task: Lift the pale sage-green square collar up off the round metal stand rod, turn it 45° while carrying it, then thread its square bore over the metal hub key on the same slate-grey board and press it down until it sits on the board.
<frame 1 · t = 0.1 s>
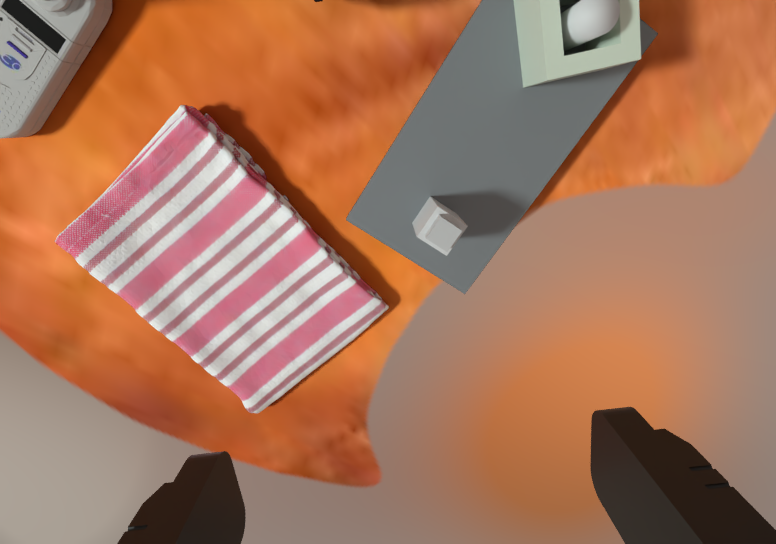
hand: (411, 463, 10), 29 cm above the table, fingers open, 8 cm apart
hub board: (488, 131, 36), on the table
dish towel: (235, 270, 40), on the table
collar: (559, 34, 32), point 1 cm above the table, touching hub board
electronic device: (48, 51, 34), on the table
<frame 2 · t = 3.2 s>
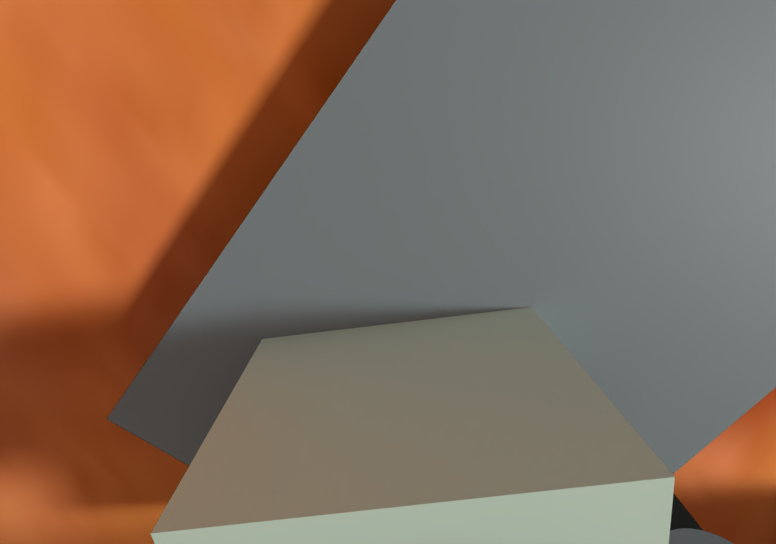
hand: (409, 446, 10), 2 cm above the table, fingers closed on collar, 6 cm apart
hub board: (622, 163, 10), on the table
collar: (410, 435, 11), point 2 cm above the table, touching gripper, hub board
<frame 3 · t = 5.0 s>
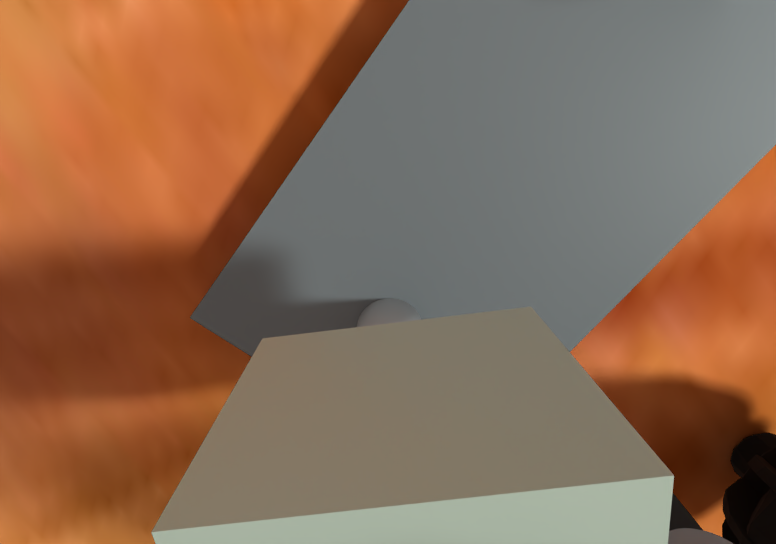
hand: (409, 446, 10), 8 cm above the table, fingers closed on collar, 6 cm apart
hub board: (526, 147, 16), on the table
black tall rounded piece: (761, 468, 21), on the table
collar: (410, 435, 11), point 7 cm above the table, touching gripper
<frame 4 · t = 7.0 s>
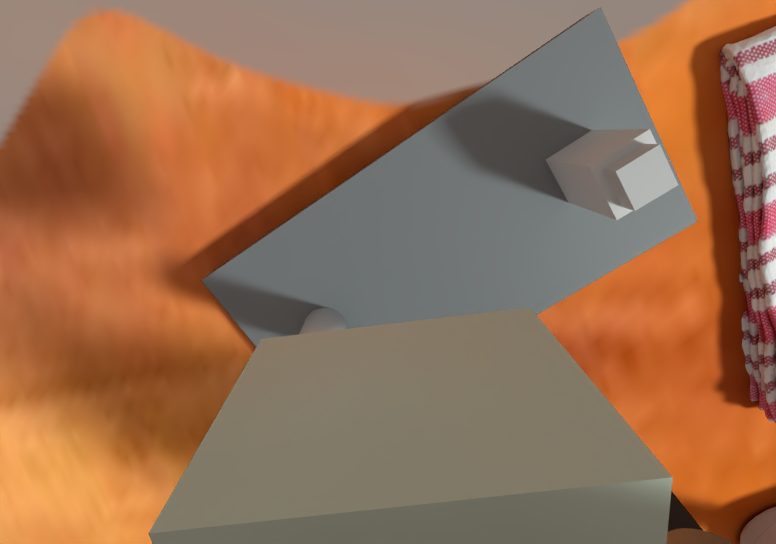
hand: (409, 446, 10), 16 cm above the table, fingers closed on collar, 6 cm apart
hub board: (442, 244, 25), on the table
collar: (408, 435, 11), point 15 cm above the table, touching gripper
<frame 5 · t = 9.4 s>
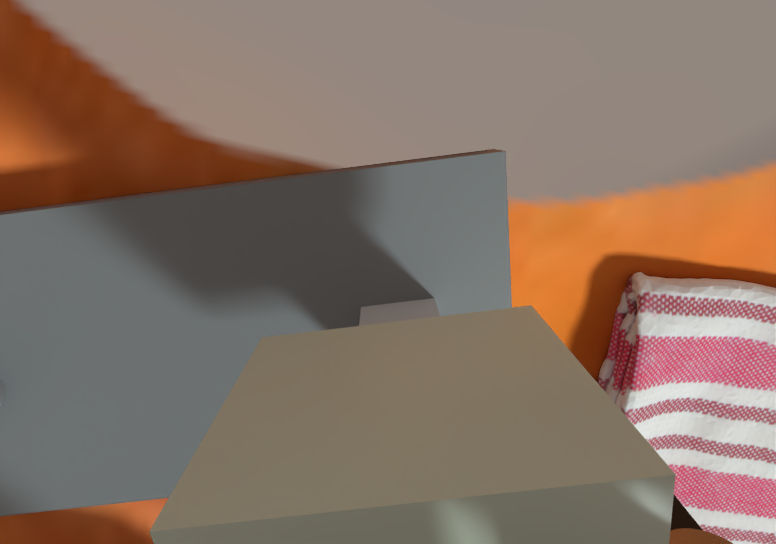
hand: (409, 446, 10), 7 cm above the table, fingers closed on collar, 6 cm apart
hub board: (200, 342, 18), on the table
dish towel: (712, 508, 22), on the table
collar: (410, 434, 11), point 7 cm above the table, touching gripper
when the fingers open (2 cm above the table, at t = 11.0 s): collar stays where it is, resting on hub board.
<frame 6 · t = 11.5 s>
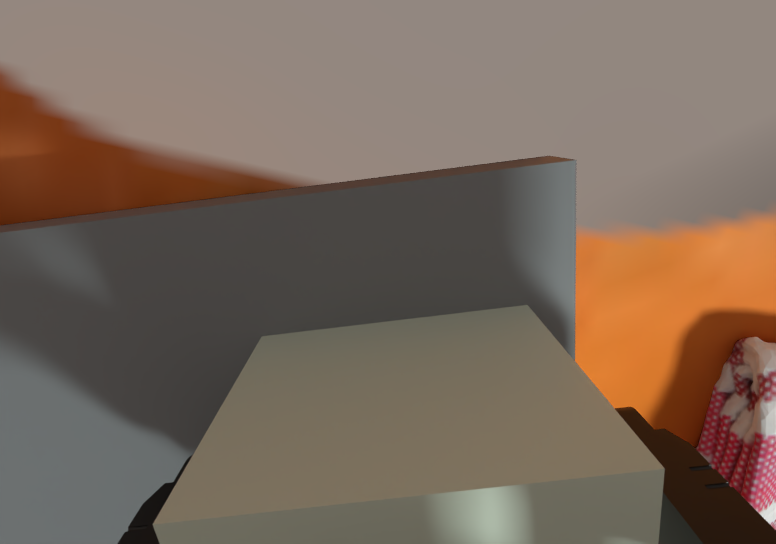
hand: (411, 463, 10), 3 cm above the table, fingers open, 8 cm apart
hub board: (124, 428, 12), on the table
collar: (408, 432, 11), point 1 cm above the table, touching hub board
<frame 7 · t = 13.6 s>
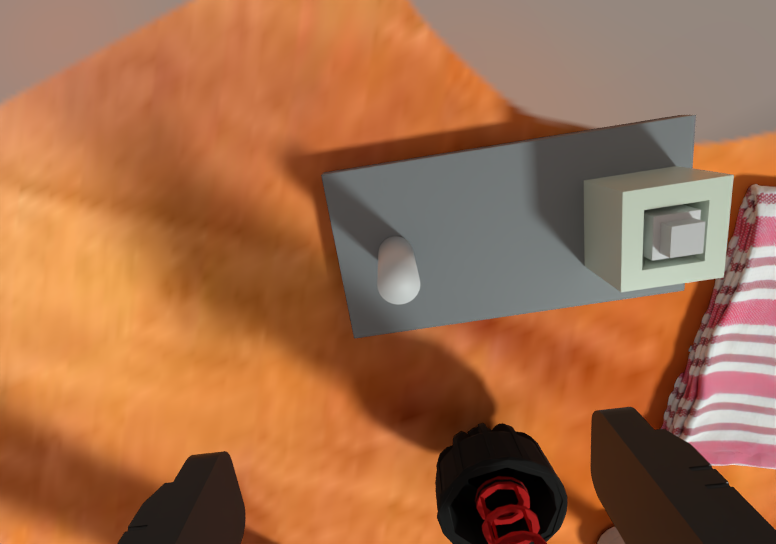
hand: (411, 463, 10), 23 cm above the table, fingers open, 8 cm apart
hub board: (505, 230, 32), on the table
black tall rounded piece: (476, 447, 38), on the table
collar: (628, 217, 30), point 1 cm above the table, touching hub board
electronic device: (671, 534, 42), on the table
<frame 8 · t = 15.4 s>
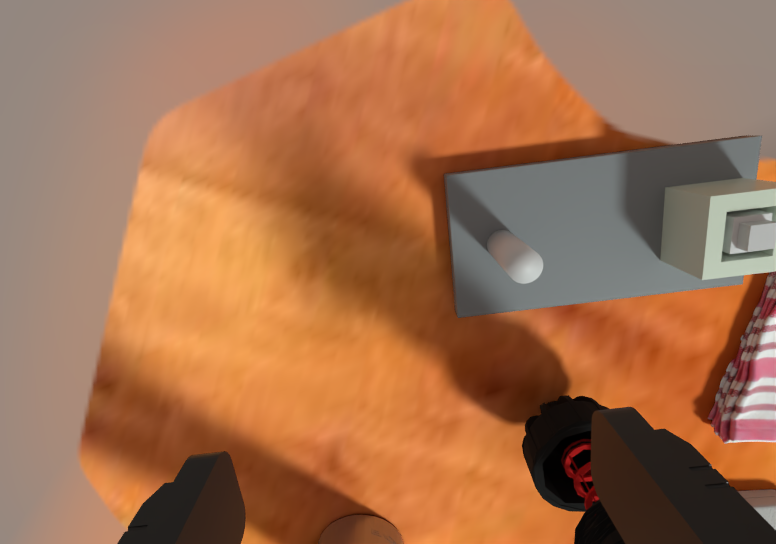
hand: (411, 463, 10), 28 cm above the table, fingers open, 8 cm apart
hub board: (592, 228, 37), on the table
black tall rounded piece: (548, 421, 43), on the table
collar: (700, 220, 35), point 1 cm above the table, touching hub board
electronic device: (713, 507, 47), on the table
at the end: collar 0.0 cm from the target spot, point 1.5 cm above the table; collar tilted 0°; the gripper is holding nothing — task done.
